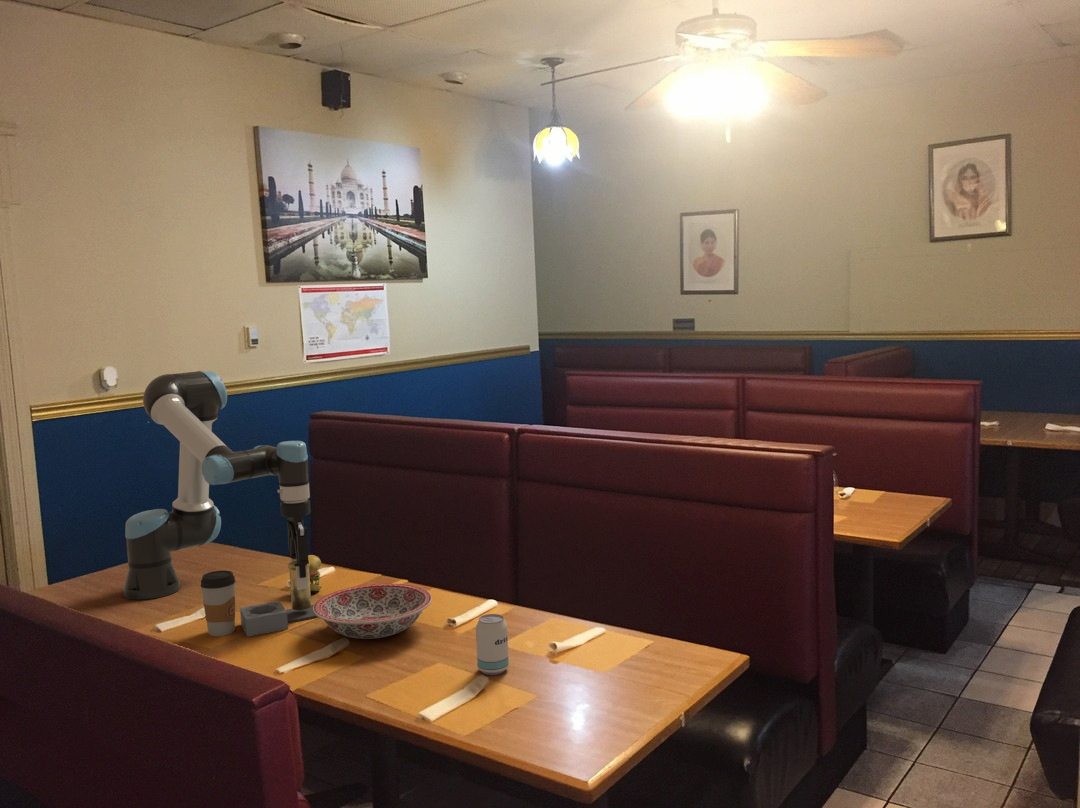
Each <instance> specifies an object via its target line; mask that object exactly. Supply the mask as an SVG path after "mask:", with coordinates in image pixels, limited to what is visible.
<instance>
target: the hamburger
mask: <svg viewBox="0 0 1080 808" xmlns="http://www.w3.org/2000/svg"><path fill="white" fill-rule="evenodd" d="M308 561H310V566H309V577H310V592H319V591H321V589H322V585H320V579H321V577H320V576H321V572H320V571H319V570H320V568H321V566H322V561H321V559H320V557H319V556H316V555H315V554H314V555H313V554H308ZM314 582H315V583H314Z"/></svg>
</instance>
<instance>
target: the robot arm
mask: <svg viewBox="0 0 1080 808" xmlns="http://www.w3.org/2000/svg"><path fill="white" fill-rule="evenodd" d="M226 388H227V387H226V385H225V383H224V382H223V380H222V378H221V377H220V375H219V374H217V372H214V371H210V370H206V371H201V370H198V371H190V372H188V371H187V372H180V373H165V374H161V375H158V376H157V377H155V378H154V379H152V380H151V381H150V382H149V384H148V385H147V386H146V387H145V390H144V392H143V396H142V397H143V398H142V399H143V400H142V404H143V408H144V410H145V413H146V414H147V416H148V417H149V418H150V419H151V420H152V421H153V422H154V423H155V424H157V425H162V426H164V427H165V428H166V429H167V430H168V431H169V432H170V433H171V434H172V435H173V436H174V437H175V438H176V439H177V440H178V441H179V460H178V461H179V462H178V485H177V486H178V487H177V488H178V489H177V491H178V492H177V498H176V499H175V500H174V501H172V505H171V506H172V508H171V511H169V512H168V509H165V508H155V509H151V510H150V509H149V510H148V509H147V510H145V511H141V512H138V513H136V514H133V515H132V516H130V517H129V518H128V519H127V520H126V522H125V529H124V531H125V533H124V536H125V541H126V553H127V554H126V555H127V563H128V564H127V566H128V571H127V574H126V578H125V581H124V585H123V595H124V598H126V599H130V600H150V599H157V598H162V597H166V596H170V595H172V594H175V593H176V592H178V591H179V590H180V589H181V580H180V578H179V576H178V573H177V571H176V569H175V567H174V565H173V562H172V560H173V559H172V552H173V553H174V552H176V551H181V550H186V549H189V548H194V547H197V546H200V547H201V546H203V545H205V544H208V543H210V542H211V543H212V542H213V541H214V540H216V539H217V537H218V536H219V534H220V531H221V526H222V518H221V516H220V510H219V509H218V507H217V506H216V505H214V501H213V500H212V499H211V498H209V497H210V495H209V494H210V493H209V491H210V485H211V486H216V485H227V484H230V483H234V482H240V481H243V480H244V481H245V480H250V479H256V478H259V477H266V476H276V477H278V485H279V489H277V493H278V494H279V499H280V515H281V516H282V517H283V518H286V519H285V520H286V526H287V539H288V540H287V541H288V542H287V543H288V554H289V558H290V562H292V561H297V564H294V567H296V576H297V590H302V589H308V574H307V564H309V561H308V555H309V551H308V548H309V547H308V528H307V525H306V524H307V523H306V521H304V518H303V517H306V516H308V515H310V514H311V500H309V499H310V498H311V494H310V493H311V492H310V481H309V479H310V478H309V461H308V459H309V455H308V450H307V445H306V444H307V443H306V442H304V441H302V440H287V441H281V442H278V443H277V445H276V446H273V445H269V444H268V445H267V444H266V445H257V446H254V447H253V448H252V449H246V450H239V451H233V450H232V449H230V447H228V446H227V445H226V444H225V443H224V442H223V441H222V440H221V439H220V438H219V437H218V436H217V435H216V434H215V433H214V432H213V431H212V429H213V427H212V425H213V423H214V422H215V421H216V420H218V415H219V412H218V411H221V410H222V409H224V408H225V407H226V405H227V402H228V393H227V389H226Z"/></svg>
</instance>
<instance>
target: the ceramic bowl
mask: <svg viewBox="0 0 1080 808" xmlns="http://www.w3.org/2000/svg"><path fill="white" fill-rule="evenodd" d="M432 600H433V599H432V594H431V593H430V592H429V591H428V590H426V589H424V588H421V587H418V586H415V585H411V584H402V583H372V584H363V585H357V586H352V587H347V588H343V589H340V590H336V591H333V592H331V593H329V594H326V595H324V596H322V597H321V598H319V599H318V600H316V602H315V603H314V604H313V605H314V606H313V612H314V614H315V615H316V616H317V617H318V618H319V619H321V620H323V621H324V622H325V624H326V625H327V626H328V627H329V628H330V629H332V630H333V631H334V632H336V633H338V634H340V635H341V636H344V637H348V638H352V639H360V640H371V639H372V640H373V639H381V638H386V637H391V636H393V635H396V634H399V633H401V632H403V631H405V630H406V629H408V628H409V627H411V626H412V625H413V624H414V623H415V622H416V621H417V620H418V619H419V618H420V616H421V614H422V613H423V611H425V609H427V608H428V607H429V606H430V604H431V603H432Z"/></svg>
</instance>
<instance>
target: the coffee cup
mask: <svg viewBox="0 0 1080 808" xmlns="http://www.w3.org/2000/svg"><path fill="white" fill-rule="evenodd" d="M236 582H237V581H236V577H235V575H234V573H233V571H231V570H227V569H225V570H214V571H210V572H207V573H205V574H203V575H202V577H201V580H200V587H201V591H202V599H203V601H202V602H203V608H204V614H205V621H206V627H207V632H208V634H209V636H212V637H223V636H227V635H231V634H232V633H233V632H234V630H235V628H236V593H235V592H236Z"/></svg>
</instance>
